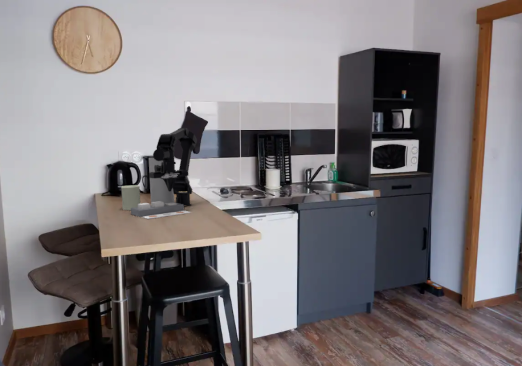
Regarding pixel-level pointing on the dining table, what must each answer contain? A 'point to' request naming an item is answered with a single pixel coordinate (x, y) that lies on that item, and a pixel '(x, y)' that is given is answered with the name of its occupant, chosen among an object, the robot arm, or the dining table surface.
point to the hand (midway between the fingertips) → (169, 191)
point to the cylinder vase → (159, 186)
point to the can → (130, 196)
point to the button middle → (157, 204)
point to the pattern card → (166, 214)
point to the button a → (143, 206)
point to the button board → (157, 210)
